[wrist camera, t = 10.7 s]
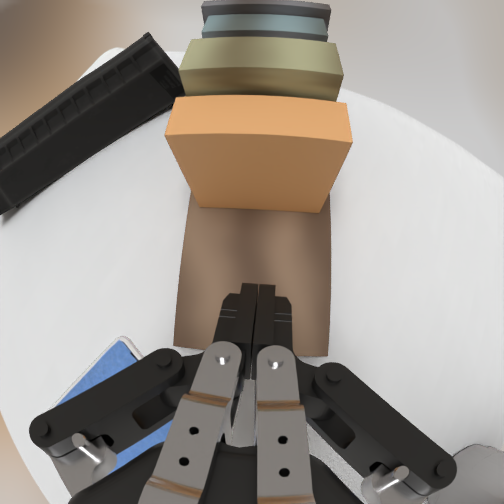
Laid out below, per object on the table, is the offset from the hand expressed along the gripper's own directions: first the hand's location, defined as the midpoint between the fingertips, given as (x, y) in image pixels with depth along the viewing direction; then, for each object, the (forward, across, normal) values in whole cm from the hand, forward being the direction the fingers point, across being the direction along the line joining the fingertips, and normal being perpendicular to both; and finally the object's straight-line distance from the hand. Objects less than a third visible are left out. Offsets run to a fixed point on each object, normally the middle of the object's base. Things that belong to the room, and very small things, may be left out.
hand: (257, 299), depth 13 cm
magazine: (+18, +22, -4) cm, 29 cm away
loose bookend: (+13, +1, -1) cm, 13 cm away
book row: (+14, +1, 0) cm, 14 cm away
